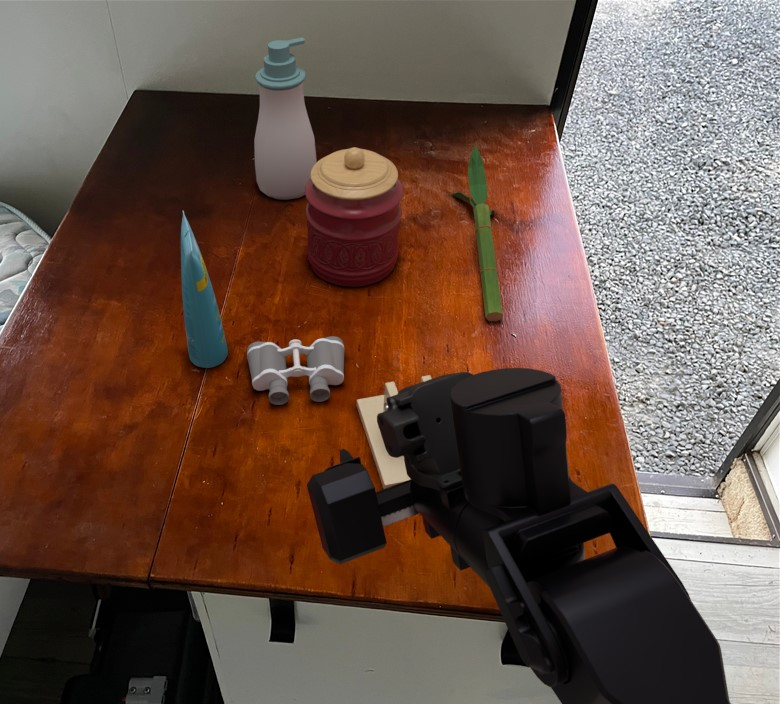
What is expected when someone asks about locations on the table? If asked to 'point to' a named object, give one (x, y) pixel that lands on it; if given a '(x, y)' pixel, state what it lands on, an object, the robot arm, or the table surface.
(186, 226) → the tube
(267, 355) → the binoculars
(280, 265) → the table surface
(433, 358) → the table surface
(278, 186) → the soap bottle
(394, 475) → the toaster bracket
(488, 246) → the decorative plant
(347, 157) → the kitchen canister
